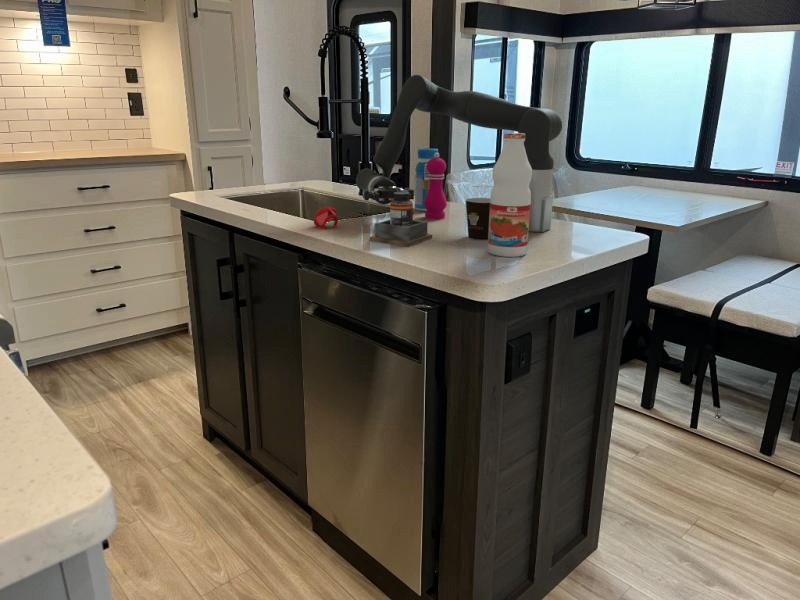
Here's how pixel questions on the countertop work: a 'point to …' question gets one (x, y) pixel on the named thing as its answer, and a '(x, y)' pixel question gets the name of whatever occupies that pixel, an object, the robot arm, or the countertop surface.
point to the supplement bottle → (401, 210)
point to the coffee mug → (478, 218)
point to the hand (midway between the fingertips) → (393, 197)
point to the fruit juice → (510, 199)
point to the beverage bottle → (422, 176)
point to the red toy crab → (325, 216)
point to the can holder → (401, 233)
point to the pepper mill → (435, 189)
